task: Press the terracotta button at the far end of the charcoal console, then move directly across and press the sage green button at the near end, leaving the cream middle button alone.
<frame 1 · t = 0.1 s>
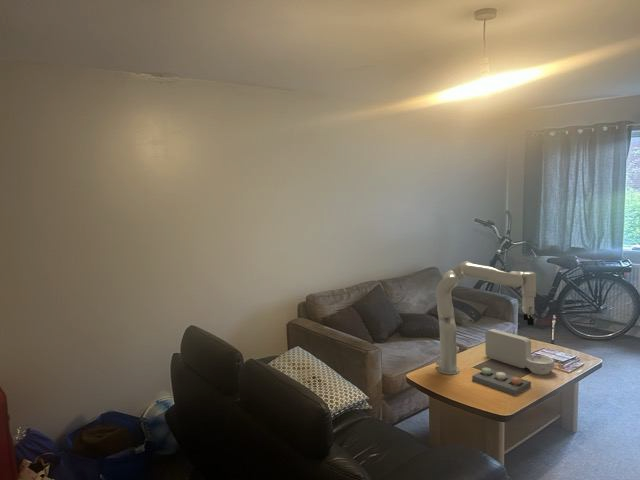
hand: (528, 322, 264), 31 cm above the table, tool pointing down, fingers open, 9 cm apart
sage button: (486, 371, 263), point 5 cm above the table, slide at 0.0 cm
rounded white slab: (507, 362, 287), on the table
terracotta button: (516, 380, 249), point 5 cm above the table, slide at 0.0 cm
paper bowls: (539, 372, 270), on the table
console: (500, 383, 256), on the table
cream button: (500, 375, 256), point 5 cm above the table, slide at 0.0 cm
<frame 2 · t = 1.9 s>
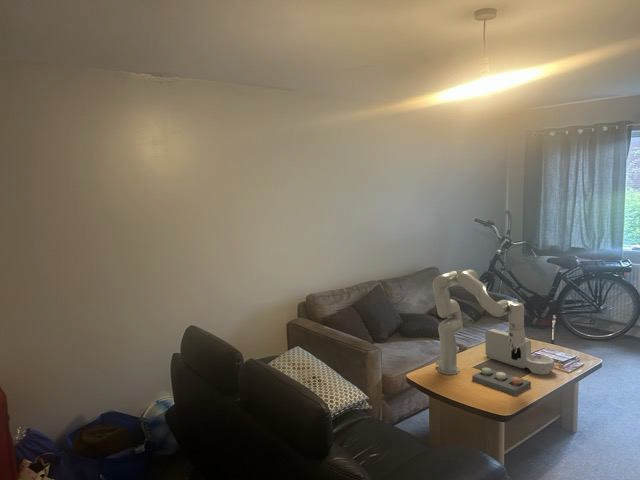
hand: (516, 358, 247), 17 cm above the table, tool pointing down, fingers closed
nothing on the table moved.
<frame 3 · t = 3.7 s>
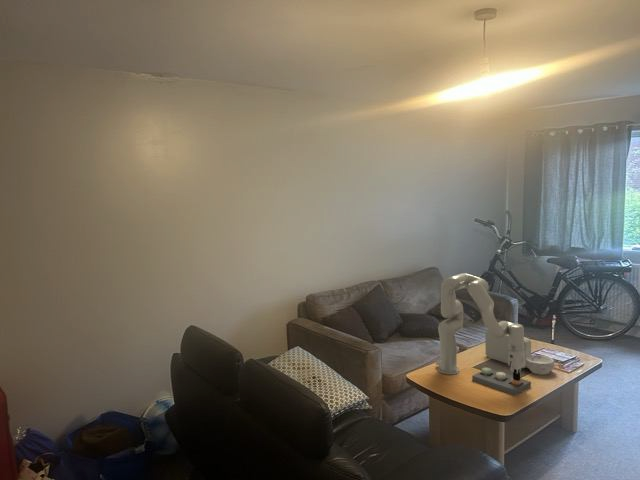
hand: (516, 379, 248), 5 cm above the table, tool pointing down, fingers closed
terracotta button: (516, 381, 249), point 4 cm above the table, slide at 0.6 cm, touching gripper
everything else where it was.
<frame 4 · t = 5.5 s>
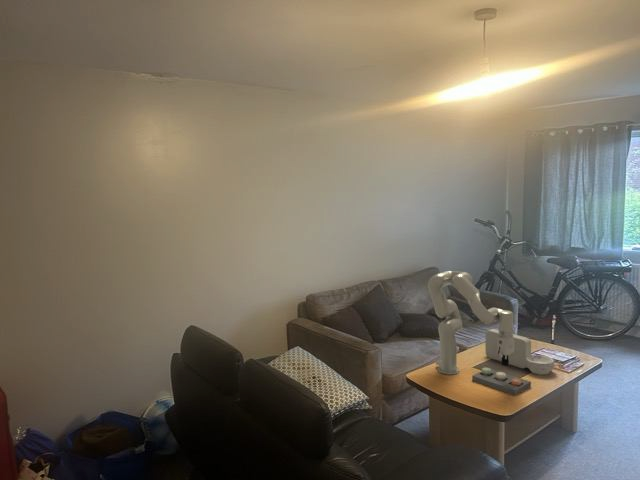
hand: (505, 365, 253), 12 cm above the table, tool pointing down, fingers closed
terracotta button: (516, 382, 249), point 4 cm above the table, slide at 1.0 cm
everything else where it was.
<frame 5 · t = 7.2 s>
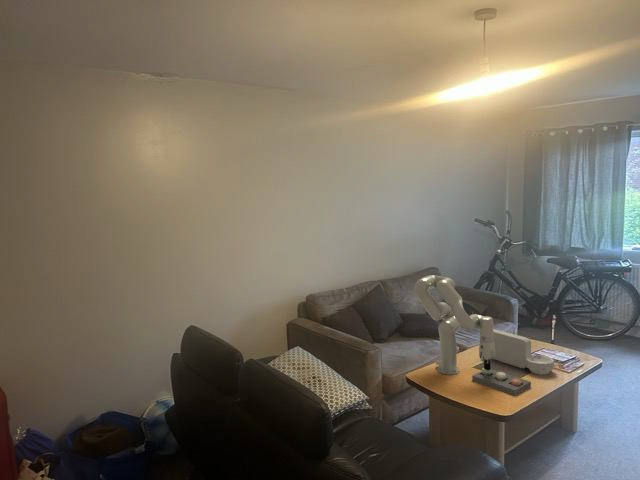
hand: (487, 369, 263), 6 cm above the table, tool pointing down, fingers closed
sage button: (486, 371, 263), point 5 cm above the table, slide at 0.0 cm, touching gripper
everything else where it was.
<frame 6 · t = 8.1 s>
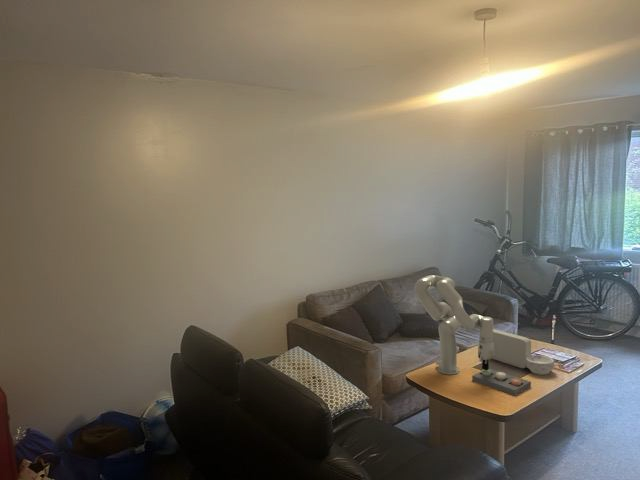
hand: (485, 369, 263), 6 cm above the table, tool pointing down, fingers closed
sage button: (486, 373, 263), point 3 cm above the table, slide at 1.1 cm
everything else where it was.
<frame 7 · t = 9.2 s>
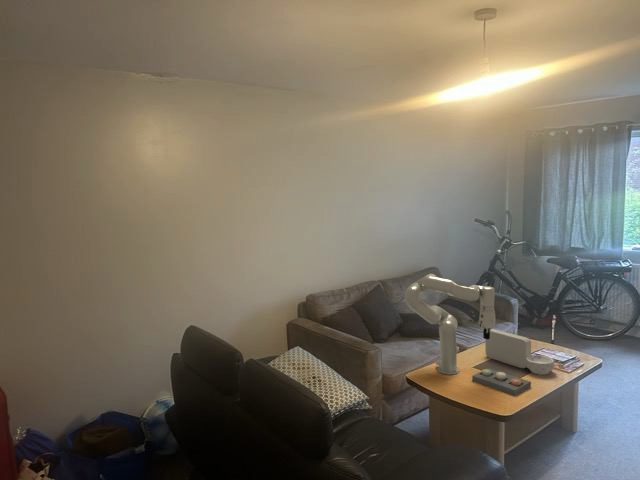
hand: (486, 338, 266), 22 cm above the table, tool pointing down, fingers closed
nothing on the table moved.
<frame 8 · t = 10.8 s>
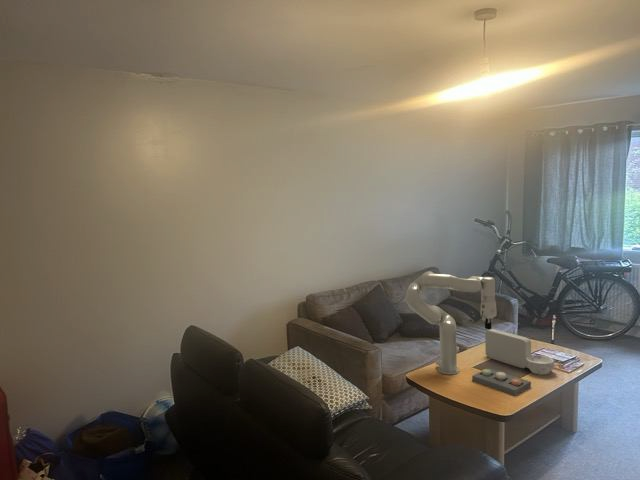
hand: (488, 328, 268), 27 cm above the table, tool pointing down, fingers closed
nothing on the table moved.
at the end: terracotta button slide at 1.0 cm; sage button slide at 1.1 cm; cream button slide at 0.0 cm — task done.
